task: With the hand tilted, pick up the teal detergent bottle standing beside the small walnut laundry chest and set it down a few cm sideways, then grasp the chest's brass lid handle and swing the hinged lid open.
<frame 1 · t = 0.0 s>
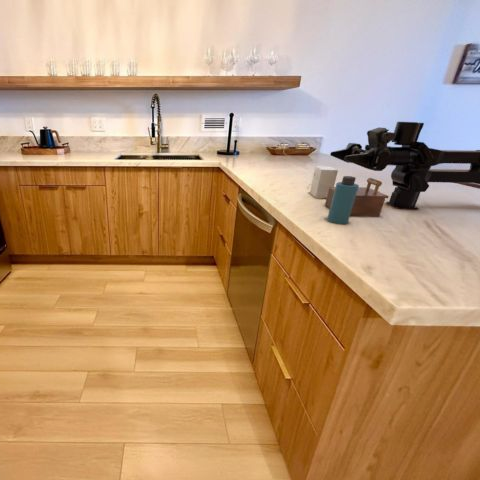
hand: (337, 155, 92), 17 cm above the counter, tool horizontal, fingers open, 9 cm apart
chest lid: (358, 186, 90), point 8 cm above the counter, hinge at 0.0°
chest: (350, 210, 93), on the counter
detergent bottle: (337, 220, 85), on the counter
small box: (319, 196, 110), on the counter
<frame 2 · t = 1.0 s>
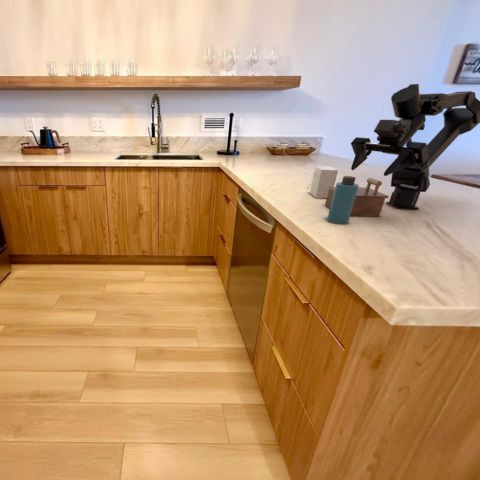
hand: (367, 172, 82), 14 cm above the counter, tool tilted 45°, fingers open, 9 cm apart
nothing on the counter moved.
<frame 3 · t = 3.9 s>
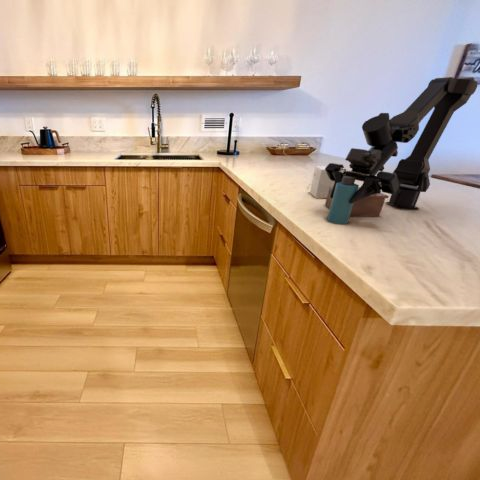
hand: (340, 200, 82), 7 cm above the counter, tool tilted 45°, fingers closed on detergent bottle, 5 cm apart
detergent bottle: (337, 220, 85), on the counter, touching gripper
everything else where it was.
when the fingers open (7 cm above the counter, at t = 8.4 s): detergent bottle stays where it is, on the counter.
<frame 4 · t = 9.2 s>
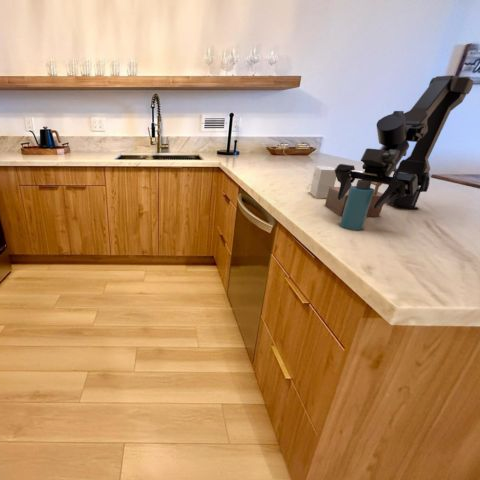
hand: (355, 203, 77), 7 cm above the counter, tool tilted 45°, fingers open, 9 cm apart
detergent bottle: (350, 226, 81), on the counter
everything else where it was.
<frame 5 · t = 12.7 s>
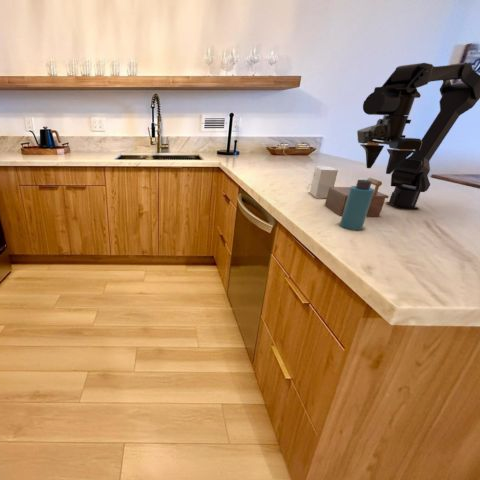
hand: (377, 170, 88), 13 cm above the counter, tool pointing down, fingers open, 9 cm apart
nothing on the counter moved.
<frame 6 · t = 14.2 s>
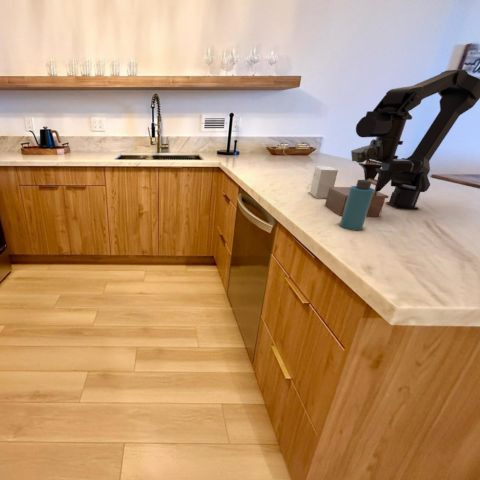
hand: (372, 189, 90), 7 cm above the counter, tool pointing down, fingers closed on chest lid, 5 cm apart
chest lid: (358, 186, 90), point 8 cm above the counter, hinge at 0.0°, touching gripper
everything else where it was.
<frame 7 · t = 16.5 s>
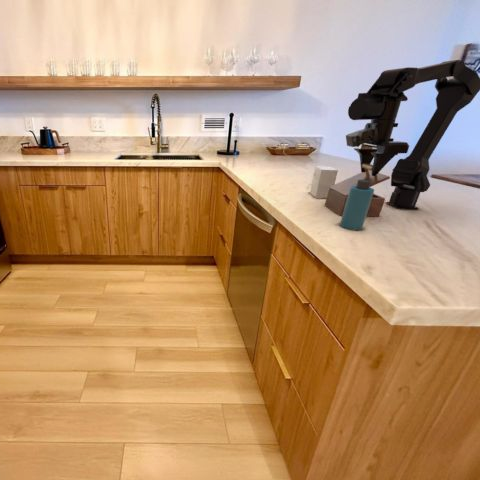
hand: (368, 173, 88), 12 cm above the counter, tool pointing down, fingers closed on chest lid, 5 cm apart
chest lid: (355, 177, 89), point 11 cm above the counter, hinge at 28.5°, touching gripper
everything else where it was.
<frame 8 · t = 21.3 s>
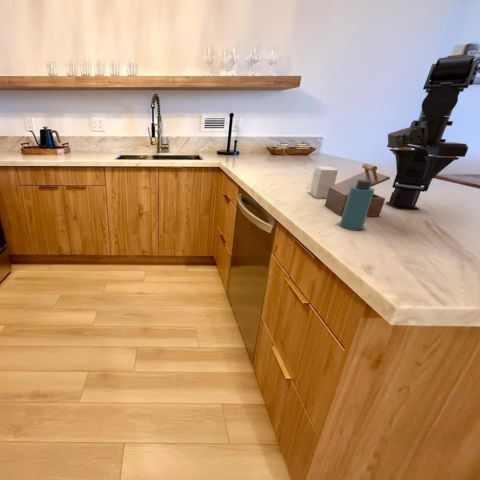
hand: (411, 179, 77), 13 cm above the counter, tool pointing down, fingers open, 9 cm apart
chest lid: (356, 177, 89), point 11 cm above the counter, hinge at 27.9°
everything else where it was.
at the end: detergent bottle 0.2 cm from the target spot, on the counter; detergent bottle tilted 0°; chest lid at +28° (first picture: +0°) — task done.
